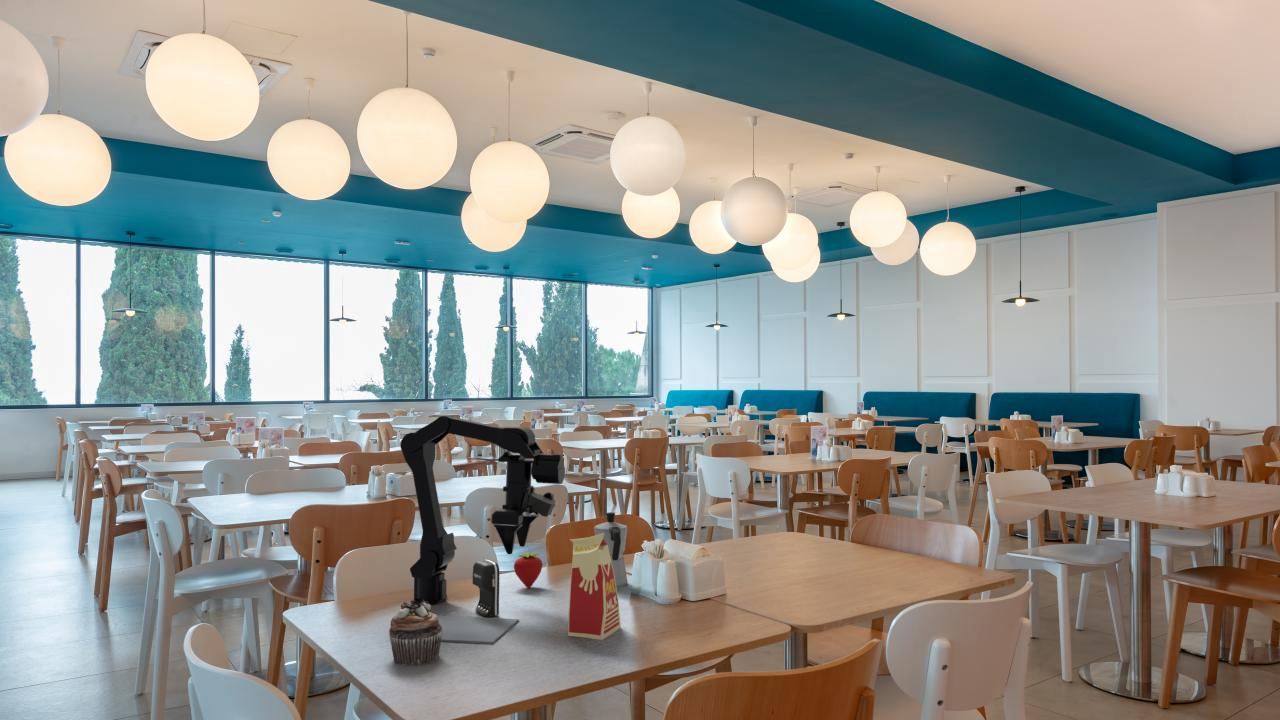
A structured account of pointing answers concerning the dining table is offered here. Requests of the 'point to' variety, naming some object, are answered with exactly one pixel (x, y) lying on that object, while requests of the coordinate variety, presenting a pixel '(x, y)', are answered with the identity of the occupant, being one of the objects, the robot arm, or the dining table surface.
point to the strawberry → (528, 568)
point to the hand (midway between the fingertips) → (516, 550)
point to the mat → (474, 629)
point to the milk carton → (592, 590)
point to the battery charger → (487, 587)
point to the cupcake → (415, 634)
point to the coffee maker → (615, 546)
